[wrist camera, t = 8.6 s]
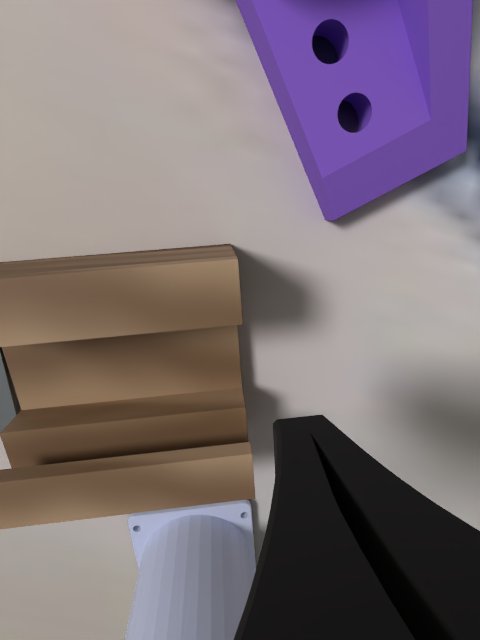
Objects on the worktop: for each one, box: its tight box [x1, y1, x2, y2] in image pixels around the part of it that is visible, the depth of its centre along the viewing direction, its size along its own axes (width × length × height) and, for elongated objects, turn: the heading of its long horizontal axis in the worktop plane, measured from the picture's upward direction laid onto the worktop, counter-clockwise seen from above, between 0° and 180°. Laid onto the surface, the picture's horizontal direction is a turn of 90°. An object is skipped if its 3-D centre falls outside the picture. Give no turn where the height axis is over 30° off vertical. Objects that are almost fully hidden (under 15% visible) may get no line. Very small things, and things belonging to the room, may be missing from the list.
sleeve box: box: [0, 244, 255, 529], centre depth 16 cm, size 11×12×6 cm
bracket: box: [236, 0, 473, 221], centre depth 13 cm, size 12×7×7 cm, turn 27°
